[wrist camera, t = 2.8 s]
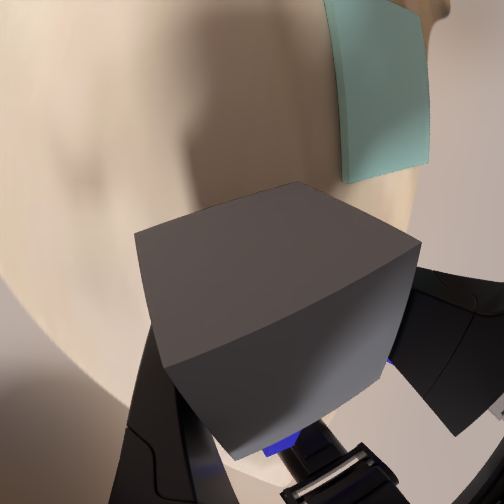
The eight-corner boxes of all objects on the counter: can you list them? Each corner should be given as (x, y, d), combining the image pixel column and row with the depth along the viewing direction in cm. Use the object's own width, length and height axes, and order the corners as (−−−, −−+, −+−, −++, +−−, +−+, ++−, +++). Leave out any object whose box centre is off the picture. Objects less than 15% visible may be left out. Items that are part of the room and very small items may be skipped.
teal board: (422, 161, 15) (428, 163, 14) (342, 181, 12) (349, 183, 12) (413, 16, 9) (419, 15, 9) (319, -18, 7) (326, -21, 7)
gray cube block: (303, 302, 11) (379, 378, 7) (186, 353, 9) (235, 461, 6) (297, 181, 8) (422, 242, 5) (134, 233, 7) (163, 368, 3)
